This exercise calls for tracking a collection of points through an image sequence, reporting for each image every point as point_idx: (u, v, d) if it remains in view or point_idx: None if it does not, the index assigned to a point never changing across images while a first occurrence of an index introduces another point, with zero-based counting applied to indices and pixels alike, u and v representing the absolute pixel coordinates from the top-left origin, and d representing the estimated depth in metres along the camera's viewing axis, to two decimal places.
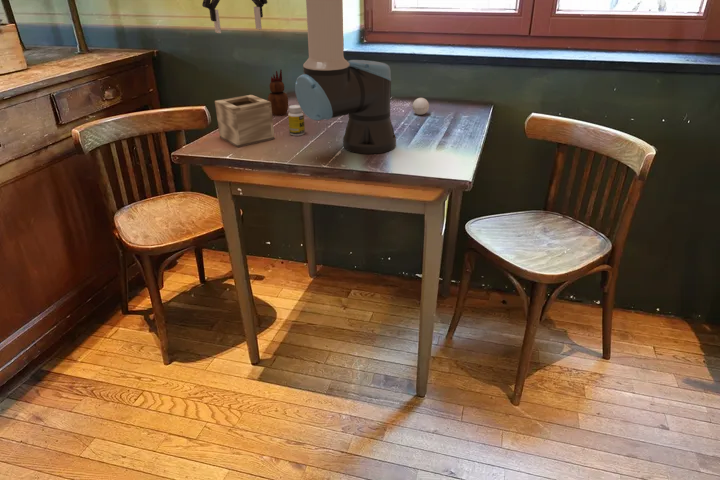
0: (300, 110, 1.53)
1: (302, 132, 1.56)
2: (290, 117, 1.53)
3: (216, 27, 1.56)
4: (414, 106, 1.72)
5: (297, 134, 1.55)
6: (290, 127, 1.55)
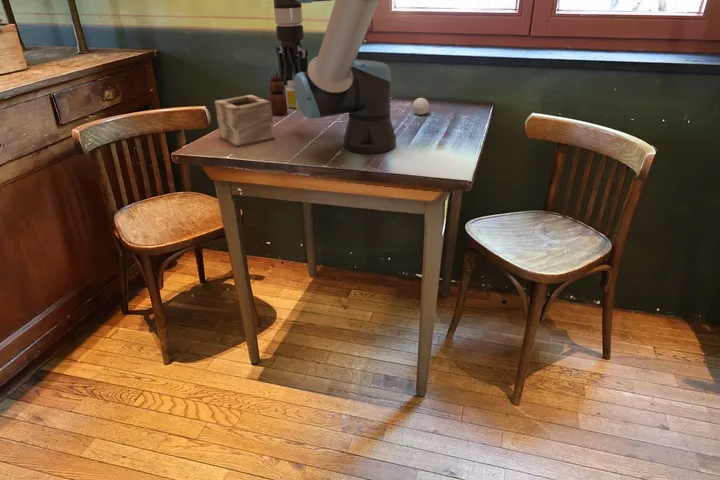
0: None
1: None
2: (289, 92, 1.49)
3: None
4: (414, 106, 1.72)
5: (296, 109, 1.51)
6: (289, 102, 1.51)
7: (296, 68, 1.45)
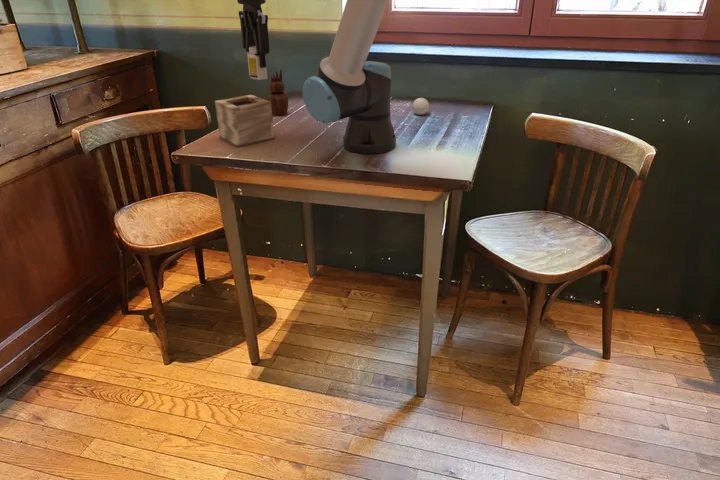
0: None
1: None
2: (250, 59, 1.44)
3: None
4: (414, 106, 1.72)
5: (257, 78, 1.46)
6: (250, 70, 1.45)
7: (257, 34, 1.39)
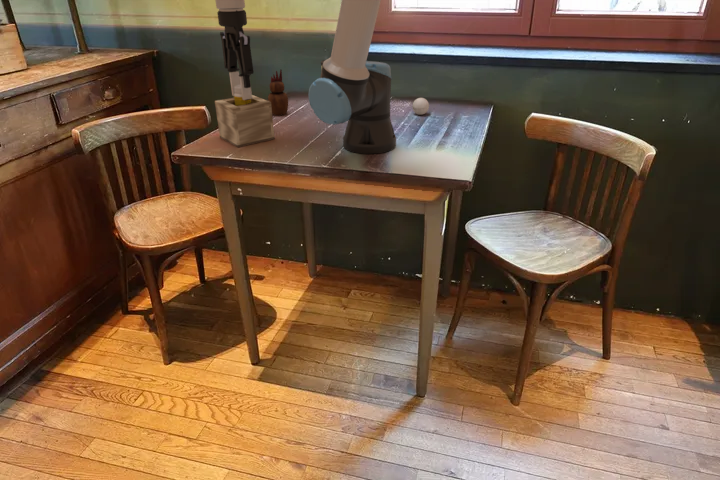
0: None
1: None
2: (236, 98, 1.47)
3: None
4: (414, 106, 1.72)
5: None
6: None
7: (240, 55, 1.40)
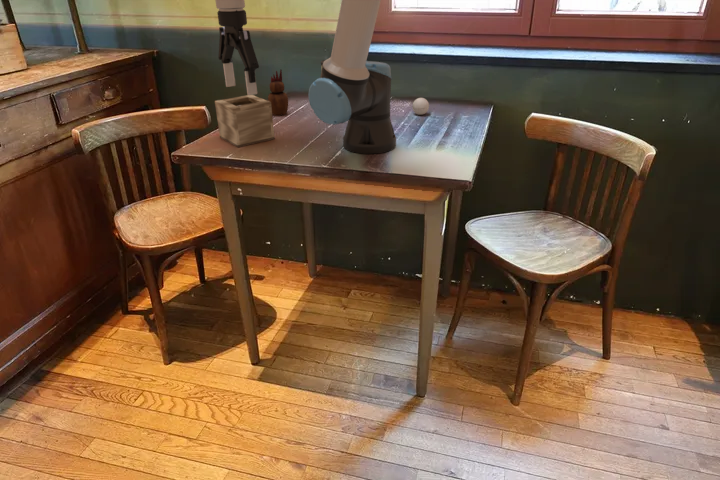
0: None
1: None
2: None
3: None
4: (414, 106, 1.72)
5: None
6: None
7: (242, 51, 1.38)
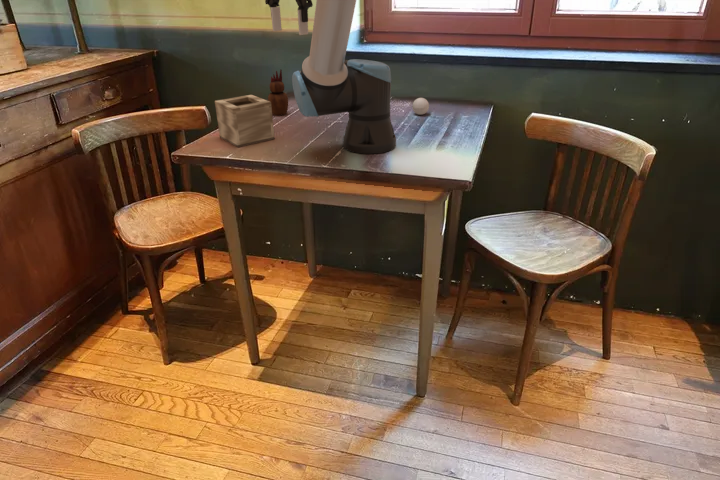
0: None
1: None
2: None
3: None
4: (414, 106, 1.72)
5: None
6: None
7: None
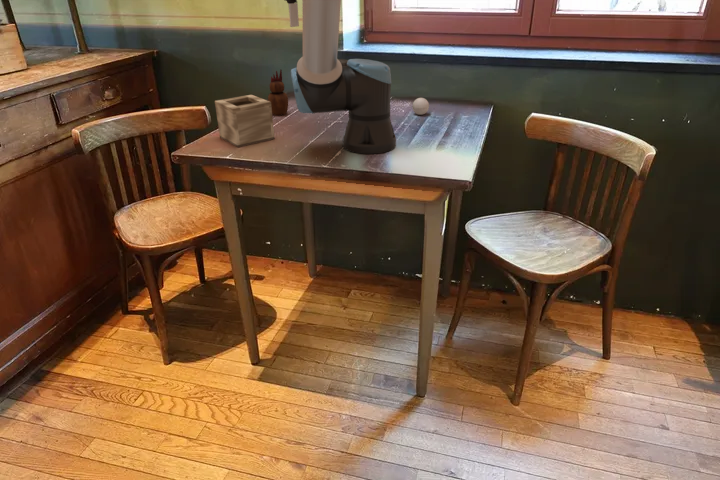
0: None
1: None
2: None
3: None
4: (414, 106, 1.72)
5: None
6: None
7: None
